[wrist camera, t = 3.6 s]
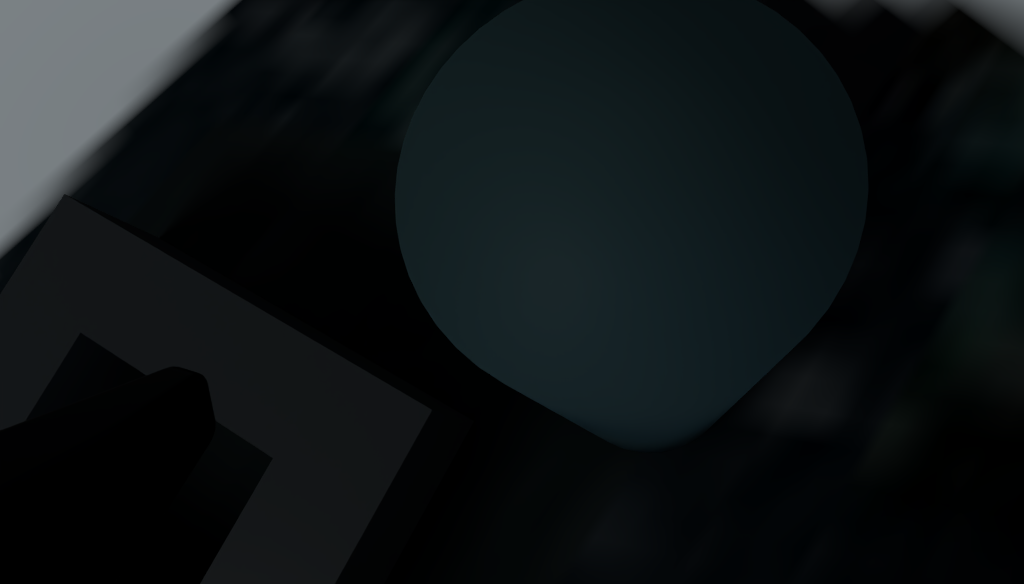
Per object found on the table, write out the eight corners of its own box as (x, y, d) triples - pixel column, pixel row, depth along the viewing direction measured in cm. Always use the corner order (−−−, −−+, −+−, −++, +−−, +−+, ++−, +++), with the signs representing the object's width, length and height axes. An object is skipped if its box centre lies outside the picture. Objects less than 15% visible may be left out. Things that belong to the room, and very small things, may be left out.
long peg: (761, 335, 20) (952, 67, 7) (684, 484, 20) (729, 509, 6) (612, 263, 21) (529, -85, 8) (537, 402, 21) (314, 278, 8)
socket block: (474, 421, 21) (432, 409, 17) (247, 831, 20) (147, 917, 16) (158, 237, 24) (64, 194, 21) (-54, 579, 23) (-197, 600, 19)
